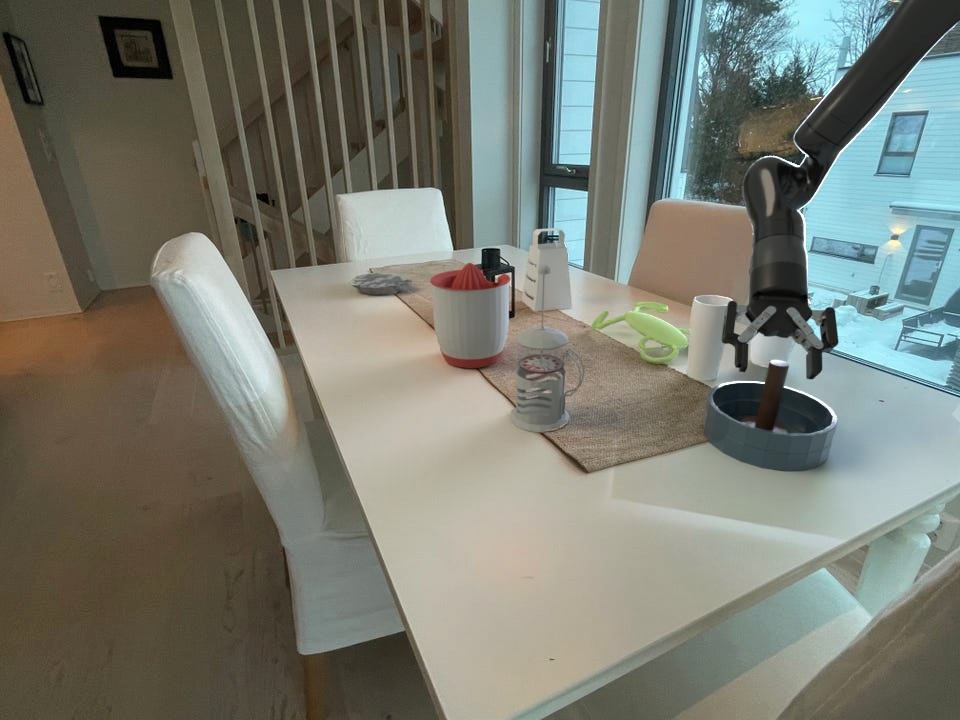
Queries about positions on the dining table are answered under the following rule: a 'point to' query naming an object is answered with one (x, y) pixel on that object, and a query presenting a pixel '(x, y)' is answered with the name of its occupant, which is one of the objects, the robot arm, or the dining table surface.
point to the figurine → (650, 330)
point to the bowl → (764, 448)
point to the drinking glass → (706, 336)
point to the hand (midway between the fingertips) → (777, 373)
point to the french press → (547, 406)
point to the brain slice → (380, 283)
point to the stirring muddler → (771, 399)
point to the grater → (547, 275)
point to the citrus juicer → (470, 316)
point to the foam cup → (771, 348)
